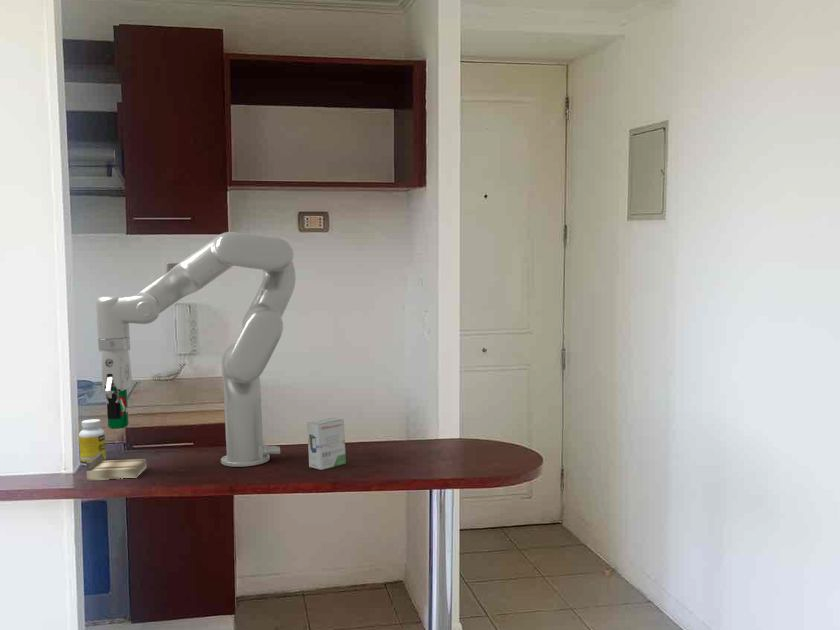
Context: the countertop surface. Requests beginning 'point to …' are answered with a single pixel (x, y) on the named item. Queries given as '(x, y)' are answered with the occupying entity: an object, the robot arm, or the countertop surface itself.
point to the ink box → (326, 443)
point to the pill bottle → (91, 440)
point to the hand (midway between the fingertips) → (117, 415)
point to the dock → (113, 468)
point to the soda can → (124, 419)
